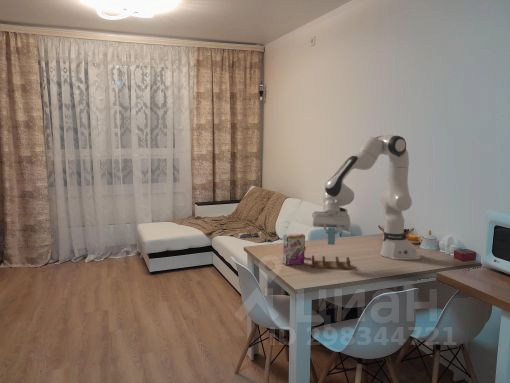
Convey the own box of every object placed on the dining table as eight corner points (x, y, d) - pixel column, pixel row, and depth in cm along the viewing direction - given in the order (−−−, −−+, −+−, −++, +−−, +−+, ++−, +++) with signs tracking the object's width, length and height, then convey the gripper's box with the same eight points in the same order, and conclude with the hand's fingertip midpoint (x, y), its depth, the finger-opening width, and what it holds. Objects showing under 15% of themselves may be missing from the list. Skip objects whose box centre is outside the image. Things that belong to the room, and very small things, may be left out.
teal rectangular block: (334, 242, 224) (334, 226, 223) (334, 244, 220) (335, 228, 219) (327, 242, 224) (328, 226, 223) (328, 244, 221) (328, 227, 219)
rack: (348, 264, 228) (348, 256, 227) (350, 269, 218) (350, 262, 217) (311, 262, 230) (312, 255, 229) (311, 267, 220) (312, 260, 220)
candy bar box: (286, 266, 223) (287, 236, 221) (282, 263, 228) (283, 234, 225) (304, 263, 227) (305, 234, 225) (300, 261, 232) (301, 232, 230)
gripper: (312, 208, 228) (312, 229, 220) (350, 209, 226) (351, 230, 217) (312, 214, 233) (311, 235, 225) (349, 216, 231) (350, 237, 222)
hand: (331, 233), depth 221 cm, fingers closed on teal rectangular block, 3 cm apart
